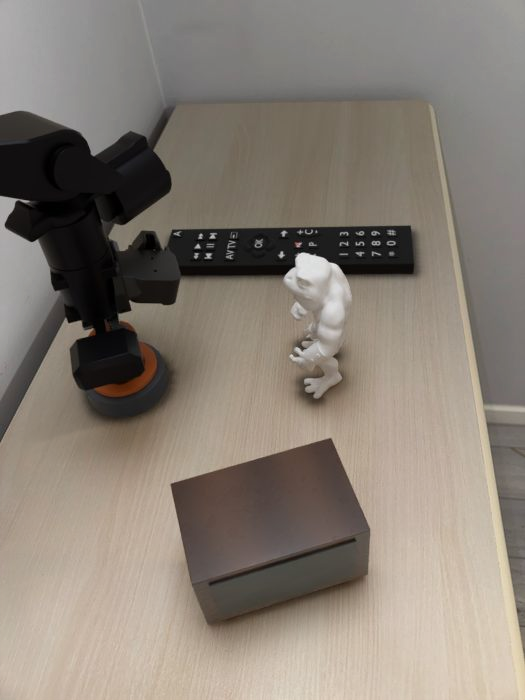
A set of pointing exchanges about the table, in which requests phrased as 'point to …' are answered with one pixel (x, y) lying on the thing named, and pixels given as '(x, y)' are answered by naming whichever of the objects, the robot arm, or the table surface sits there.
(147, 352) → the orange top hat
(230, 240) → the remote control
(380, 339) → the table surface
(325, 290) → the figurine
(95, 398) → the stand
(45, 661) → the table surface
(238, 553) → the brown lidded box
